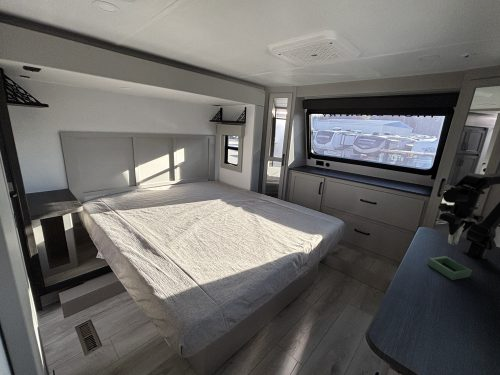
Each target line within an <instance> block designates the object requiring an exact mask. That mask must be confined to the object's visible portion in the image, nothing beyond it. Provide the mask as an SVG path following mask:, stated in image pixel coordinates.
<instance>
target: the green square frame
mask: <svg viewBox="0 0 500 375" xmlns="http://www.w3.org/2000/svg"><path fill="white" fill-rule="evenodd" d="M426 264H427V265H428V266H429V267H431V268H432V269H434V270H435V271H437V272H439V273H440V274H442V275H444V276H445V277H446V278H448V279H450V280H452V281H454V280H458V279H459V280H460V279H464V278H470V277H471V274H472V273H473V270H472V269H470V268H468V267H466V266H465V265H463V264H460V263H459V262H458V261H455V260H454V259H453V258H450V257H448V256H446V255H443V256H439V257H438V256H436V257H429V258H428V261H427V263H426ZM443 264H445V265H446V266H448V267H446V266H445V265H443ZM449 267H450V268H449ZM451 268H452V269H454V270H455V271H453V270H451Z"/></svg>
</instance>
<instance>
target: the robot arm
mask: <svg viewBox="0 0 500 375" xmlns="http://www.w3.org/2000/svg"><path fill="white" fill-rule="evenodd" d="M495 185H500V172H497V173H496V172H495V173H487V174H483V173H474V172H470V173H466V175H464V177H462V178H461V179H460V180H459V181H458V182H457V183H456V184H455V185H453V186H451V187H450V189H446V190H445V191H444V192H443V194H442V199H443V200H444V201H445V202H444V203H443V202H440V203H439V205H438V206H437V208H438V210H439V211H440V212H441V213H440V214H439V216H438V219H439V220H442V221H444V222H446V223H447V224H448V235H449V234H450V235H454V234H455V233H456V232H457V230H458V229H459V228H460V227H462V226H463V224H464V223H465V225H464V226H463V228H464V229H463V232H462V234H463V233H464V232H466V237H465V238H466V239H465V240H466V241H469V242H470V244H469V246H468V249H467V250H463V251H462V253H464V254H466V255H467V256H469V257H472V258H473V259H475V260H478V261H480V260H486V259H488V257H487V256H485V255H486V252H487V250H489V251H493V250H494V249H495V248H496V247H497V244H496V242H495V238H496V237H497V234H496V229H497V228H498V227H499V226H500V201H499V202H498V203H497V204H496V205H495V206H494V207H493V209H492V210H490V212H489V213H488V215H486V217H485V218H484V216H483V215H482V214H479V213H476V212H474V211H476V210H478V208H479V207H478V206H477V204H478V202H479V199H480V198H481V195H485V194H486V192H485V191H484V190H487V189H489V188H491V186H495ZM447 203H448V204H447ZM442 212H443V213H442ZM474 220H475V221H476V222H475V221H474Z"/></svg>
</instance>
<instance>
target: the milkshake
mask: <svg viewBox="0 0 500 375" xmlns="http://www.w3.org/2000/svg"><path fill="white" fill-rule="evenodd" d="M464 225H465V223H464V224H463V226H464ZM463 226H462V227H460V228H459V229H458V230H457V232H456V233H455V234H454V235H450V234H449V233H448V239H447V243H448V244H449V245H452V246H457V245H458V244H459V242H460V239H461V236H462V234H463V233H464V232H463V229H464V228H463ZM462 232H463V233H462Z"/></svg>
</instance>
